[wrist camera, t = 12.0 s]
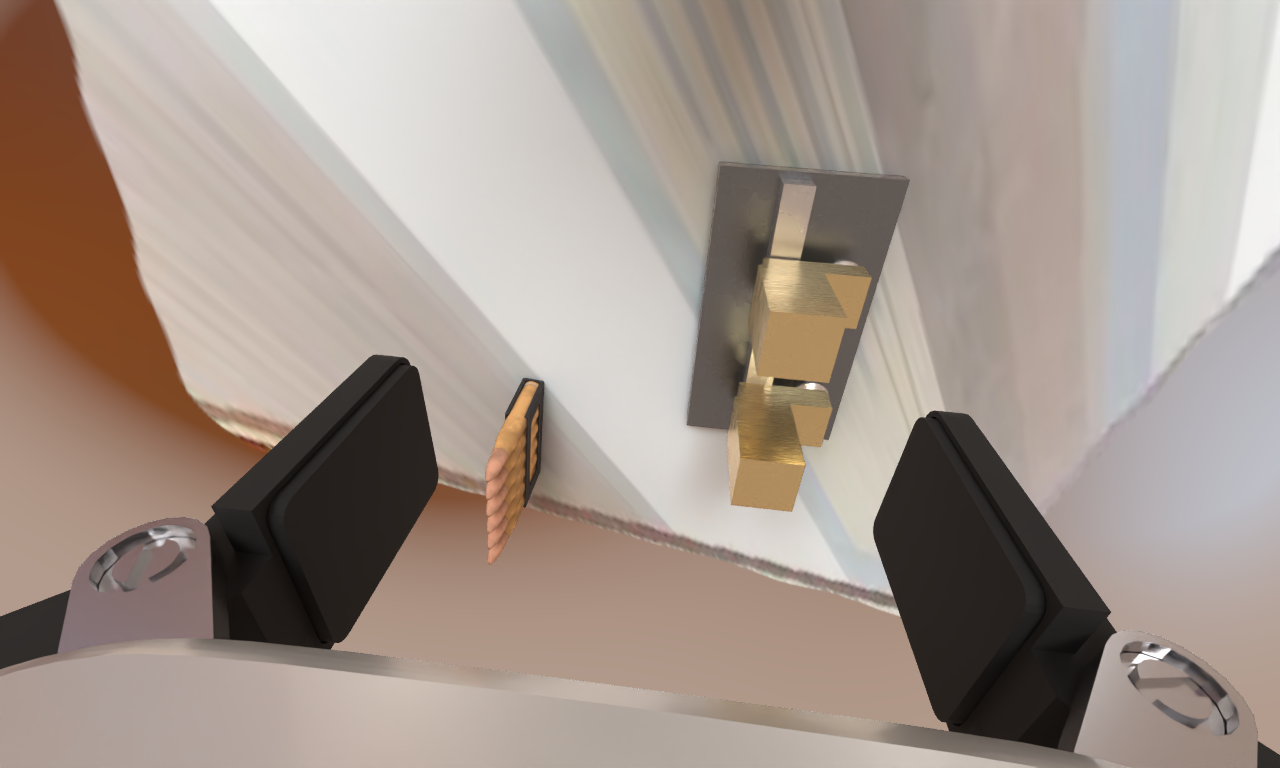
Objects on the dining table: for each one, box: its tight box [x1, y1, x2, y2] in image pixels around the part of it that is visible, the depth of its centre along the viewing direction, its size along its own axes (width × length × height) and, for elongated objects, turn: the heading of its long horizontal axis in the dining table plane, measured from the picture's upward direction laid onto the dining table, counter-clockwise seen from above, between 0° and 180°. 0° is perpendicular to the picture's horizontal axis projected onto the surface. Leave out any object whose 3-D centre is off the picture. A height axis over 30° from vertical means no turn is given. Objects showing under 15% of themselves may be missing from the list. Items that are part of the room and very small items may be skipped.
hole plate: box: [687, 162, 910, 512], centre depth 36 cm, size 21×12×12 cm, turn 177°
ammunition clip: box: [485, 378, 544, 565], centre depth 44 cm, size 11×2×12 cm, turn 172°
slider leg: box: [748, 258, 872, 383], centre depth 33 cm, size 4×7×10 cm, turn 87°
